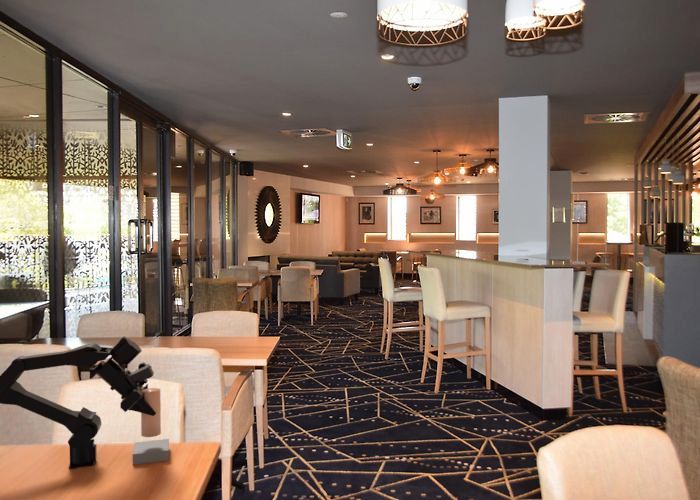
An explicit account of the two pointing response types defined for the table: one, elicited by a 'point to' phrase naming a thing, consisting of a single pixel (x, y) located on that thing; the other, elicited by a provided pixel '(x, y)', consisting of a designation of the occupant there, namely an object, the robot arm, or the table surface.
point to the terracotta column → (148, 422)
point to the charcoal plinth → (151, 451)
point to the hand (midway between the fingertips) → (155, 411)
